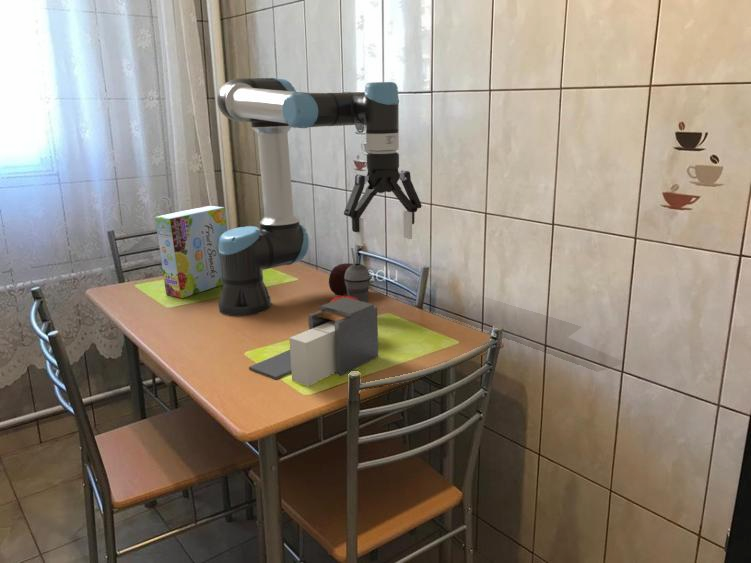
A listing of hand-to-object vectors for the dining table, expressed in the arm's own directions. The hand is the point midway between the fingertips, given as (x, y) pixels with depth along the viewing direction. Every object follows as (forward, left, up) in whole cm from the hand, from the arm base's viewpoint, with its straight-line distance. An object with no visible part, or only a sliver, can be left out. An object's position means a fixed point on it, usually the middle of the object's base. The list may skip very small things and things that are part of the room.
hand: (384, 241), depth 151 cm
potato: (-33, +22, -26) cm, 47 cm away
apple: (-10, -5, -26) cm, 28 cm away
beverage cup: (-17, +8, -26) cm, 32 cm away
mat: (-10, -25, -26) cm, 37 cm away
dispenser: (0, -16, -25) cm, 30 cm away
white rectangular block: (0, -24, -26) cm, 35 cm away
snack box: (-78, -1, -26) cm, 82 cm away
